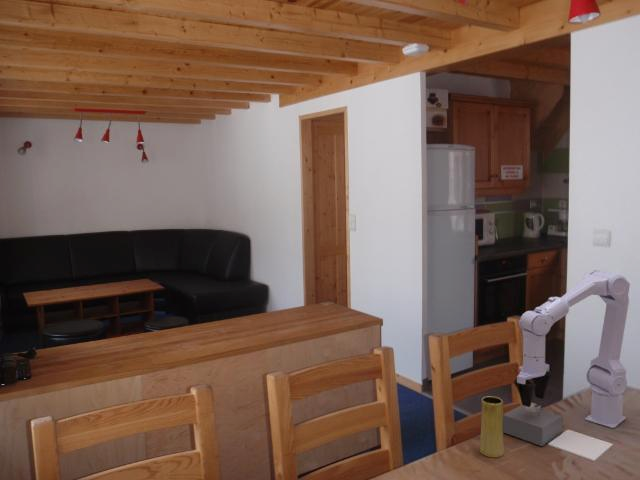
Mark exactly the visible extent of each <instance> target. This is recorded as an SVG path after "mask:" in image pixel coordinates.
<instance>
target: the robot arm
mask: <svg viewBox="0 0 640 480" xmlns="http://www.w3.org/2000/svg"><path fill="white" fill-rule="evenodd" d="M630 286H631V284H630V282H629V281H628V279H627V278H626V277H625V276H623V275H622V274H614V273H610V272H604V271H600V270H597V269H595V270H591V271H590V272H589V273H587V274H585V275H584V276H583V279H582V281H581V282H579V283H577V284H576V285H575V286H574V287H573V288H571V289H570V290H568V291H567V292H566V293H564V294H563V295H562V296H560V297H559V296H550V297H548V299H547V301H545V302H544V303H542V304H541V305H540V306H536V307H535V308H534V309H533V310H527V311H525V312H524V313H522V315H521V316H520V319H519V320H518V325H519V327H520V329H521V331H522V332H521V333H522V334H521V335H522V340H523V341H522V343H523V344H522V365H521V366H519V367H518V370H519V374H518V375H517V376H516V378H515V379H514V381H513V382H514V383H513V384H514V385H515V387H516V388H517V391H518V393H519V397H520V400H521V401H520V402H521V405H524V406H527V407H530V406H531V403H533V401H532V400H533V394H534V396H535V398H536V399H537V398H538V399H542V400H544V397H545V396H546V391H547V388H548V385H549V383H550V381H551V379H552V378H553V374H552V373H550V364H548V363H546V335H547V334H548V333H549V332H550V330H551V327H552V326H554V324H555V323H556V322H557V321H559V320H561V319H562V318H564V317H565V316H567V315H568V314H569V312H570V308H571V307H573V306H574V305H576V304H578V303H580V302H581V301H583V300H585V299H587V298H588V297H590V296H599V297H600V299H601V300H602V301H603V302H604V303H605V304H606V305H605V312H604V316H603V317H604V318H603V325H602V331H601V335H600V336H601V337H600V343H599V349H598V354H597V357H595V358H593V359H591V360H590V365H589V367H588V369H587V370H586V374H585V378H586V381H587V383H589V387H590V388H591V399H590V400H591V401H590V402H591V405H590V406H591V407H590V414H589V415H587V416H586V417H585V418H584V419H585V420H586V421H587V422H592V423H595V424H598V425H601V426H604V427H608V428H611V429H615V428H616V427H617V426H618V425H620V424H621V423H622V422H623V421H624V420H626V419H627V417H626V416H625V415H623V413H624V412H623V410H624V409H623V408H624V397H623V393H624V391H625V390H626V388H627V384H628V381H627V377H626V376H627V369H626V368H625V366H623V364H622V363H621V361H620V358H621V354H622V353H621V352H622V347H623V341H624V336H625V335H624V333H625V329H626V323H627V322H626V321H627V315H628V310H629V304H630V299H629V291H630ZM531 379H532V381H533V383H532V382H531V381H530V380H531Z"/></svg>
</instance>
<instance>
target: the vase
mask: <svg viewBox="0 0 640 480" xmlns="http://www.w3.org/2000/svg"><path fill="white" fill-rule="evenodd" d="M503 414H504V401H503V399H501V398H500V397H497V396H492V395H487V396H483V397H482V398H481V422H480V424H481V425H480V429H481V430H480V436H479V437H480V441H479V452H480V454H481V455H484V456H486V457H488V458H500V457H502V456H503V455H504V454H505V451H504V432H503Z"/></svg>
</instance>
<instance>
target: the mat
mask: <svg viewBox="0 0 640 480" xmlns="http://www.w3.org/2000/svg"><path fill="white" fill-rule="evenodd" d="M547 446H550V447H552V448H555V449H557V450H560V451H563V452H566V453H568V454H572V455H574V456H577V457H580V458H583V459H584V460H585V459H586V460H588V461H591V462H596V461H597V460H598V459H599V458H601V457H602V456H603V455H604V454H605V453H606V452H607V451H608V450H609V449H611V448H612V447H614V443H611V442H608V441H605V440H602V439H598V438H596V437H592V436H589V435H587V434H583V433H580V432H576V431H574V430H572V429H566V430H565V431H563V432H562V433H561V434H560V435H558V436H557V437H555V438H554V439H552V440H551V441H549V442H548V443H547Z"/></svg>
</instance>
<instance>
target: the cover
mask: <svg viewBox="0 0 640 480" xmlns="http://www.w3.org/2000/svg"><path fill="white" fill-rule="evenodd" d="M541 407H542V406H541V404H538V403H535V402H531V406H530V407H527V406H524V405H522V404H520V405H519V406H516V407H515V408H513V409H511V410H509V411H507V412H505V413H503V434H504V433H505V434H507V435H510V436H513V437H515V438H518V439H521V440H523V441H526V442H529V443H532V444H534V445H537V446H540V447H543V446H545V445H546V444H548V443H550V442H551V441H553V440H554V439H555V438H557V437H558V436H559V435H561V434H562V433H563V432H562V431H563V415H560V414H556V413H554V412H550V411H547V410H543V409H541Z"/></svg>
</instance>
